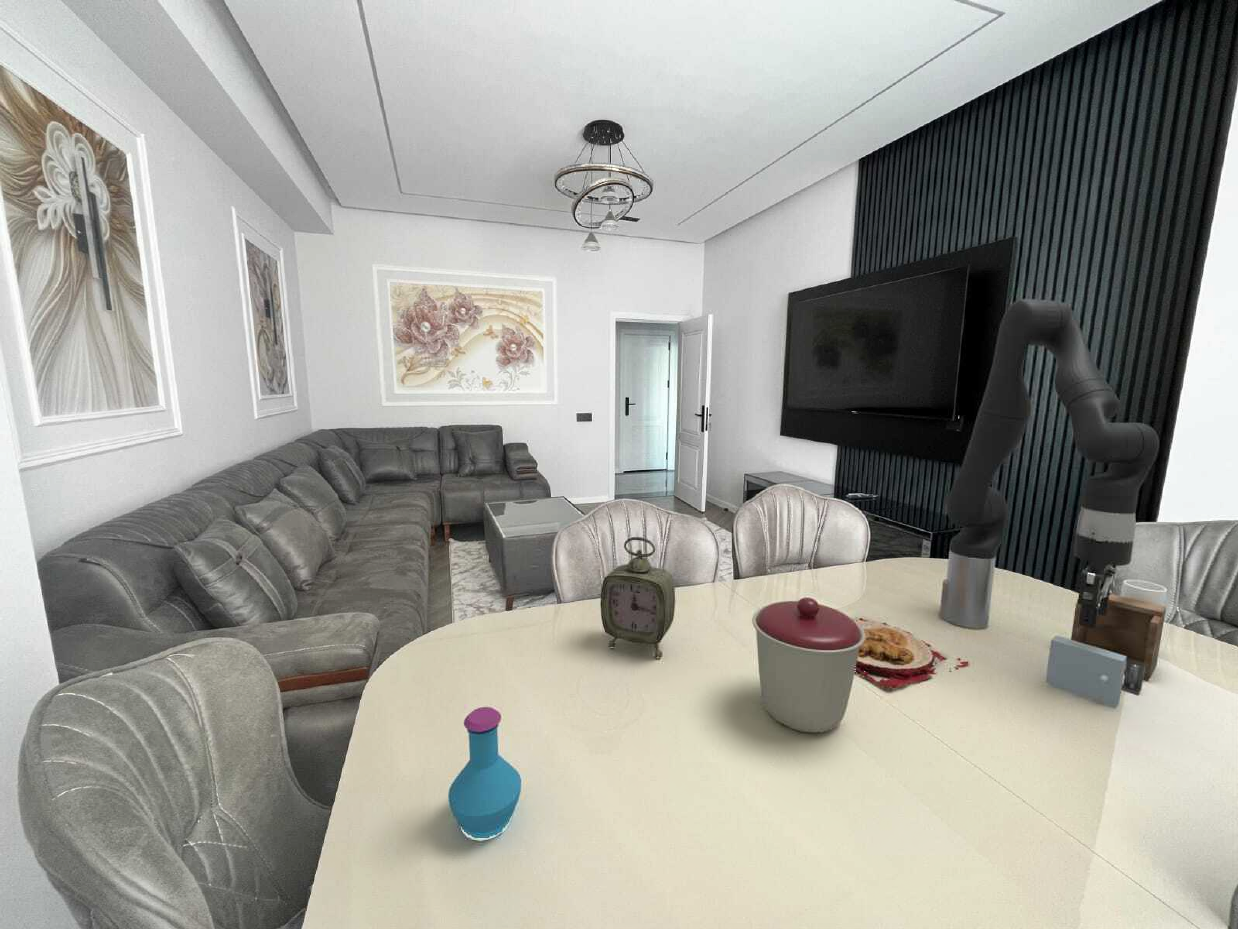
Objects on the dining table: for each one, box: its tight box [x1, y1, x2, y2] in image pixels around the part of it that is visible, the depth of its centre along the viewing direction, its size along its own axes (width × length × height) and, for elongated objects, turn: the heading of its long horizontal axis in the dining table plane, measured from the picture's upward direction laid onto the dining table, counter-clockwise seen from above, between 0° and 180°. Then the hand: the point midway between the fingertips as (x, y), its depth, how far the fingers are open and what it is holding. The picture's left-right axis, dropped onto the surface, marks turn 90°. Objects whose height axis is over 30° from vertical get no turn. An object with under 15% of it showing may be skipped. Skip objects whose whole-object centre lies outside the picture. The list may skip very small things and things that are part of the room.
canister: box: [751, 597, 866, 734], centre depth 89 cm, size 18×18×21 cm
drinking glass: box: [1120, 579, 1168, 607], centre depth 111 cm, size 7×7×15 cm
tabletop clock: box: [599, 536, 676, 658], centre depth 111 cm, size 14×9×25 cm, turn 68°
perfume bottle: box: [448, 706, 522, 838], centre depth 67 cm, size 9×9×15 cm
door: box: [1044, 634, 1127, 709], centre depth 96 cm, size 10×4×9 cm, turn 37°
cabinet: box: [1070, 593, 1167, 682], centre depth 107 cm, size 12×9×13 cm
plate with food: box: [852, 617, 969, 690], centre depth 113 cm, size 25×26×4 cm
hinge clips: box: [1121, 660, 1145, 696], centre depth 101 cm, size 11×3×5 cm, turn 37°
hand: (1092, 620), depth 95 cm, fingers open, 8 cm apart
